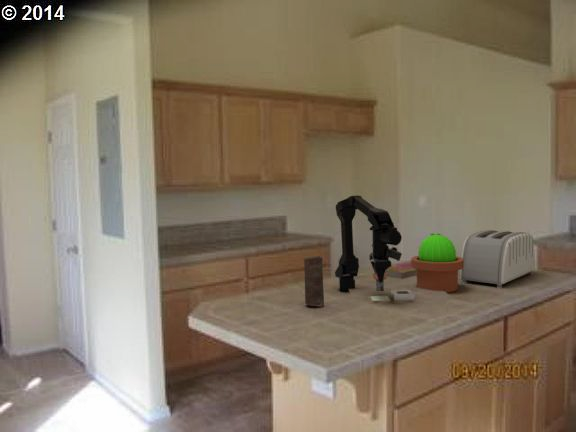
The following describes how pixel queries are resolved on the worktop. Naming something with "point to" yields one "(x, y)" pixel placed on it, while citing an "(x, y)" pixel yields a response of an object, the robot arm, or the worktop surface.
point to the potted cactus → (437, 264)
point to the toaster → (497, 256)
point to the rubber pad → (379, 298)
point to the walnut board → (389, 301)
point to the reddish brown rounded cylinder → (379, 285)
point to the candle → (314, 281)
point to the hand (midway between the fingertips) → (379, 281)
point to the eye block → (402, 295)
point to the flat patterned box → (401, 270)
